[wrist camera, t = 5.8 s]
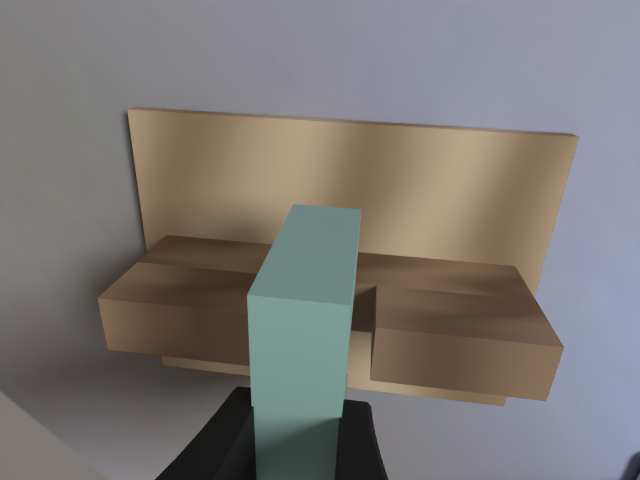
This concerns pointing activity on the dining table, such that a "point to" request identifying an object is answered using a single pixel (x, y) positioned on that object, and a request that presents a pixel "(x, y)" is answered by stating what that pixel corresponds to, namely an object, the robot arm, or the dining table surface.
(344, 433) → the robot arm
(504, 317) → the slotted board
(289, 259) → the mint green block
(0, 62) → the dining table surface
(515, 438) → the dining table surface
